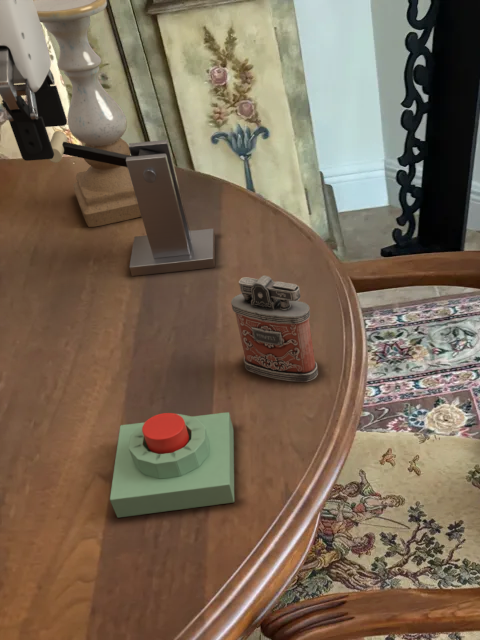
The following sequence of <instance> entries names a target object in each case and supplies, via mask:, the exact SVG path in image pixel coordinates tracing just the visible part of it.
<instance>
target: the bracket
mask: <svg viewBox="0 0 480 640" xmlns="http://www.w3.org/2000/svg"><path fill="white" fill-rule="evenodd" d="M128 146H129V150H130V156H134V157H126V163H127V167H128V170H129V174H130V177H131V181H132V184H133V188H134V191H135V195H136V198H137V202H138V205H139V209H140V212H141V216H142V217H141V219H142V222H143V227H144V229H145V233H146V235H145V234H144V235H135V236H134V237H133V243H132V249H131V255H130V262H129V272H130V274H131V277H136V276H139V277H140V276H149V275H156V274H157V275H158V274H166V273H177V272H184V271H194V270H203V269H210V268H211V269H212V268H213V269H214V268H216V233H215V229H214V228H204V229H195V230H190V226H189V222H188V218H187V214H186V210H185V204H184V200H183V196H182V193H181V188H180V185H179V180H178V177H177V173H176V168H175V164H174V160H173V156H172V152H171V151H172V150H171V148H170V144H169V139H162V140H152V141H151V140H150V141H140V142H139V141H138V142H130V143H128ZM140 149H141V150H146V151H150V152H155V153H160V154H155V155H145V156H139V150H140Z"/></svg>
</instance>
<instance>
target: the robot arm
mask: <svg viewBox="0 0 480 640" xmlns="http://www.w3.org/2000/svg"><path fill="white" fill-rule="evenodd" d="M41 23H42V22H40V20H39V17H38V14H37V11H36V8H35V5H34V2H33V0H0V98H1V99H2V100H1V102H2V103H1V105H2V107H3V108H4V110H5V114H6V118H7V120H8V122H9V125H10V127H11V130H12V133H13V136H14V139H15V141H16V145H17V148H18V150H19V153H20V155H21V159H22V160H24V161H26V162H30V161H45V160H49V159H52V158H53V156H54V152H53V149H52V146H51V143H50V141H51V138H50V137H49V134H48V130H47V128H51V127H52V128H53V127H65V126H67V125H68V118H67V115H66V113H65V109H64V106H63V103H62V100H61V99H62V98H61V96H60V92H59V90H58V89H59V88H58V87H57V85H56V81H55V77H54V74H53V72H52V70H51V66H52V63H51V61H52V60H51V55H50V51H49V48H48V43H47V40H46V37H45V34H44V33H45V32H44V31H43V27H42V24H41ZM23 96H24V97H26V100H25V99H24V98H23Z"/></svg>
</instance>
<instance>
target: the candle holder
mask: <svg viewBox="0 0 480 640" xmlns="http://www.w3.org/2000/svg"><path fill="white" fill-rule="evenodd" d="M33 2H34V5H35V8H36V11H37V14H38V17H39V20H40V23H42V25H43V26H44V28H45V29H46V30H47V31H48V32H49V33H50V34H51V35H52V36H53V37H54V38H55V40H56V43H57V44H58V47H59V54H58V55H59V56H58V61H57V63H56V64H57V67H58V69H59V70H61V71H62V72H63V73H64V75H65V77H67V78H68V80H69V81H70V83H71V87H72V89H71V90H72V91H71V92H72V93H71V99H70V103H69V108H68V112H67V126H68V130H69V132H70V133H71V135H72V137H74V139H76V140H77V141H79V142H80V143H82V144H84V146H87V147H92V148H96V149H101V150H106V151H111V152H115V153H120V154H125V155H130V156H131V154H130V150H129V143H127V142H126V140H124V139H123V138H122V137H123V136H124V135H125V133H126V131H127V127H128V121H127V116H126V114H125V112H124V110H123V109H122V108H121V106H120V105H119V104H118V103H117V101H116V100H115V99H114V98H112V96H111V95H110V94H109V93H108V92H107V91H106V89H105V88H104V87H103V85H102V84H101V81H100V78H99V73H100V65H101V64H102V58H101V57H100V55H99V54H97V53H96V52H95V51H94V49H93V48H92V46H91V45H90V42H89V39H88V38H89V37H88V31H89V28H90V26H91V16H95V15H96V14H99V13H101V12H103V11H104V10H105V9H106V7H107V4H108V0H33ZM83 160H84V161H85V162H86V163H87V164H88V165H89V167H88V168H87V169H86V170H84V171H81V172H77V173H76V175H75V178H76V182H74V183H73V184H72V186H73V190H74V191H73V192H74V194H75V197H76V200H77V202H78V203H77V204H78V205H79V208H80V210H81V213H82V216H83V219H84V221H85V224H86V225H87V227H89V228H95V227H100V226H104V225H109V224H114V223H119V222H123V221H128V220H133V219H137V218H142V216H141V212H140V209H139V205H138V202H137V198H136V195H135V191H134V188H133V184H132V181H131V177H130V174H129V170H128V167H123V166H118V165H113V164H109V163H104V162H99V161H94V160H89V159H84V158H83Z"/></svg>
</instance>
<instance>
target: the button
mask: <svg viewBox="0 0 480 640" xmlns="http://www.w3.org/2000/svg"><path fill="white" fill-rule="evenodd" d="M177 414H178V413H174V412H163V413H158V414H154V415H153V416H151V417H150V418H148V419H147V420H146V421H144V422H145V423H144V422H143V423H144V425H143V428H142V432H143V435H144V438H145V441H146V443H147V446H148V448H149V450H151V451H152V452H153V453H157V454H166V453H173V452H175V451H177V450H179V449H181V448H183V447H185V446H186V445H187V443H188V441H189V435H188V431H187V428H186V425H185V421H184V419H183V418H182V417H181V416H179V415H177Z"/></svg>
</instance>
